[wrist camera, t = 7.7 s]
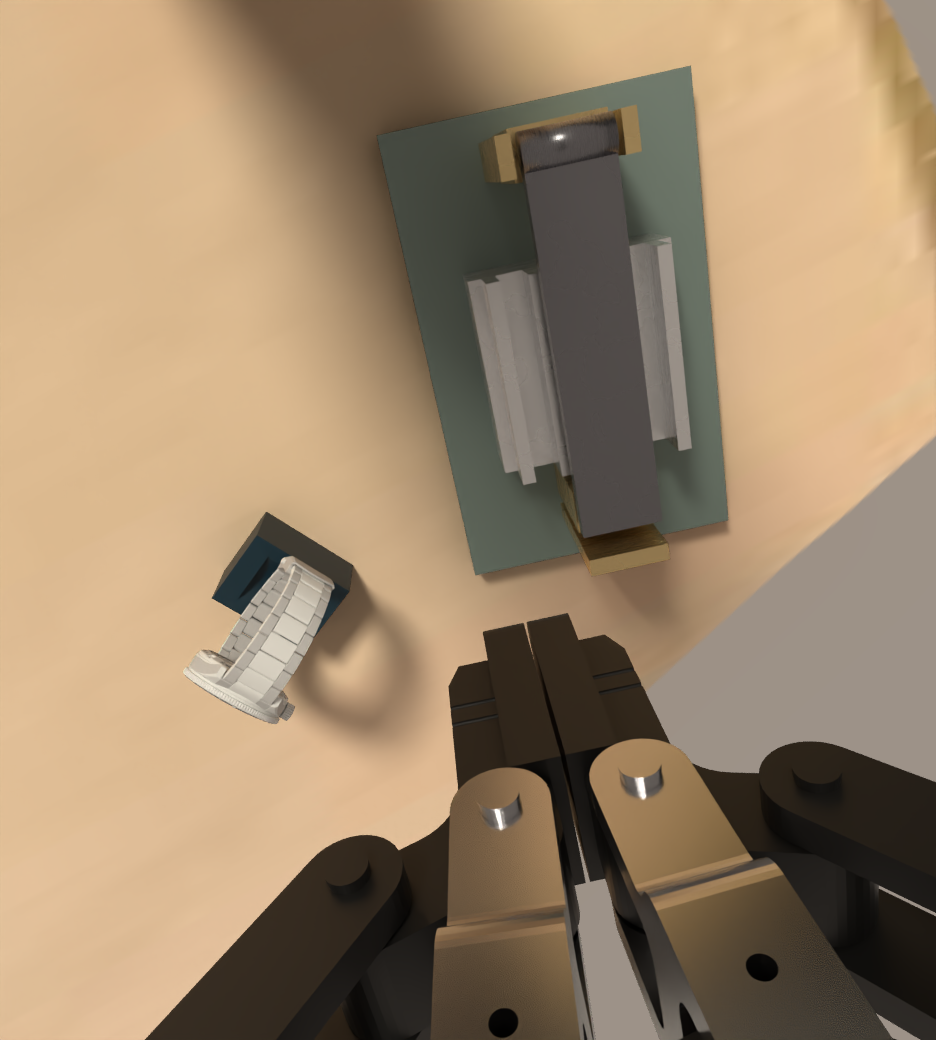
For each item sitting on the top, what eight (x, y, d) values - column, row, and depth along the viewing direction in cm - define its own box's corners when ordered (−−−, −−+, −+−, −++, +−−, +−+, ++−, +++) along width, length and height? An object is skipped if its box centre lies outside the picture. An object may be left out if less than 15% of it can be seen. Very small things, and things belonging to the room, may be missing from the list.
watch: (205, 597, 45) (149, 718, 35) (284, 486, 43) (248, 580, 33) (292, 647, 47) (262, 776, 36) (372, 542, 44) (364, 648, 34)
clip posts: (477, 138, 36) (494, 129, 29) (597, 112, 36) (641, 96, 29) (546, 520, 43) (572, 580, 37) (645, 498, 43) (689, 555, 36)
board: (377, 137, 37) (376, 135, 35) (679, 70, 37) (690, 65, 35) (473, 563, 45) (475, 575, 44) (718, 509, 45) (728, 520, 44)
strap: (513, 133, 31) (518, 130, 30) (605, 112, 31) (615, 108, 30) (578, 528, 37) (585, 541, 36) (654, 511, 37) (665, 524, 36)
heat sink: (462, 274, 38) (471, 287, 33) (651, 232, 38) (685, 240, 33) (498, 454, 41) (510, 488, 37) (670, 416, 41) (704, 445, 37)
